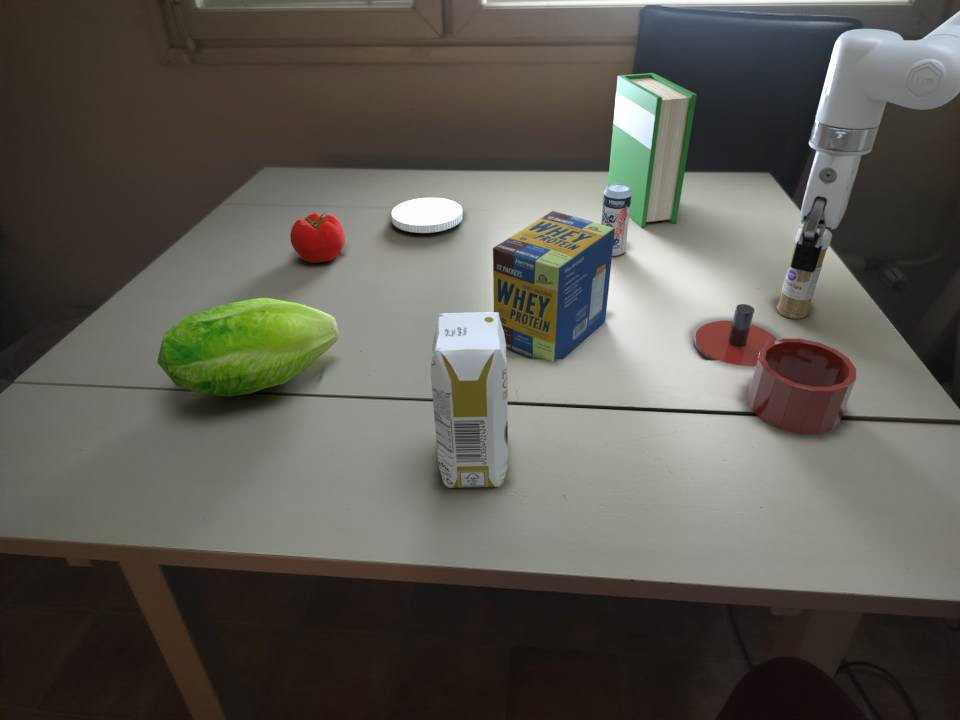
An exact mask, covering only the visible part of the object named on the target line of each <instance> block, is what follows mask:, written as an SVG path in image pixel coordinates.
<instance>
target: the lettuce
mask: <svg viewBox="0 0 960 720" xmlns="http://www.w3.org/2000/svg"><path fill="white" fill-rule="evenodd" d="M339 338H340V333H339V328H338V323H337V320H336V318H335V317H333V316H332V315H331V314H330V313H327V312H324V311H322V310H320V309H317V308H314V307H311V306H308V305H305V304H302V303H301V304H300V303H298V302H292V301H286V300H282V299H281V300H280V299H274V298H269V297H258V298H251V299H245V300H240V301H239V300H238V301H235V302H229V303H224V304H221V305H217V306H214V307H210V308H208V309H205V310H202V311H199V312H197V313H192V314H188V315H184V316H183V317H182V318H180V319H179V320H178V321H177V322H176V323H175V324H173V326H172V327H170V328H169V329H167V331H165V332H164V333H163V336H162V341H161V345H160V349H159V353H158V357H157V361H156V363H157V364H158V366H159V367H160V368H161V370H163V372H164V373H165V374H166V375H167V376H168V378H169V379H170V380H171V381H172V383H174V385H175V386H176V387H179V388H181V389H185V390H188V391H191V392H194V393H197V394H200V395H202V396H216V397H229V398H233V397H236V396H243V395H250V394H254V393H256V392H260V391H261V390H264V389H267V388H268V389H269V388H271V387H275V386H280V385H284V384H286V383H287V382H288V381H290V380H292V379H294V378H295V377H298V376H299V375H300V374H301V373H303V372H304V371H305V370H306V369H308V368H309V367H310V366H311V365H312V364H313V363H315V361H316V360H317V359H318V358H320V357H321V356H322V355H323V354H325V353H326V352H327V351H328V350H329V349H330V348H332V346H333V345H334V344H335V343H337V341H338V340H339Z"/></svg>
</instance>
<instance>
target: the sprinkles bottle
mask: <svg viewBox="0 0 960 720" xmlns="http://www.w3.org/2000/svg"><path fill="white" fill-rule="evenodd" d="M802 229H803V226H801V227H799V228H798V229H797V232H796V234H795V238H794V241H795V242H794V247H793V251H792V254H791V257H790V261H789V265H788V268H787V271H786V274H785V278H784V280H783V283H782V288H781V293H780V297H779V300H778V304H777V306H776V310H777V313H778V314H780V315H781V316H783V317H785V318H789V319H796V320H797V319H798V320H799V319H804V318H805V317H807V316H808V315H809V308H810V305H811V302H812V298H813V297H814V294H815V291H816V287H817V283H818V281H819V279H820V278H819V277H820V274H821V271H822V268H823V263H824V260H825V257H826V254H827V250H828V249H829V247H830V245H831V242H832V238H833V233H832V231H831V230H830V229H825V232H824V235H823V238H822V241H821V245H820V246H822V249H821V252H820V256H819V259H818V262H817V266H816V269H815V271H814V272H807V271H802V270H798V269H793V268H791V263H792V259H793V256H794V252H795V248H796V245H797V242H798V241H799V239H800V235H801V232H802ZM829 230H830V231H829ZM817 233H818V235H819V233H820V229H818V228H817Z"/></svg>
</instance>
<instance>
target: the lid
mask: <svg viewBox="0 0 960 720" xmlns="http://www.w3.org/2000/svg"><path fill="white" fill-rule="evenodd" d="M754 315H755V308H754V307H753V306H752V305H749V304H744V303H740V304H738V305H736V306H735V310H734V314H733V319H732V320H715V321H711V322H708V323H705V324H703V325H701V326H700V327H698V329H697V330H696V331H695V333H694V337H693V342H694V346H695V348H696V349H697V350H698V351H699V352H700V354H701V355H703V356H704V357H706V358H707V359H708V360H710V361H718V362H722V363H725V364H729V365H734V366H741V367H756V363H757V359H758V355H759V352H760V349H761V348H762V347H763V346H765V345H766V344H767V343H769V342H772V341H776V340H778V338H776V337H775V335H773V334H772V333H771V332H769V331H768V330H766V329H764V328H762V327H760V326H758V325H755V324H752V323H753V318H754Z"/></svg>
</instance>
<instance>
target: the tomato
mask: <svg viewBox="0 0 960 720" xmlns="http://www.w3.org/2000/svg"><path fill="white" fill-rule="evenodd" d="M325 214H326V212H324V213H323V214H321V215H320V214H318V213H317V212H316V211H315V212H312V213H309V214H308V215H307V216H306V217H303V218H304V219H303V218H299V219H297V220H295V222H294V224H293V225H292V227H291V229H290V234H289V236H290V243H291V246H292V249H293V250H294V251H295V252H296V253H297V254H298V255H299V257H300V258H301V259H302V260H304V261H306V262H307V263H311V264H312V263H313V264H318V263H324V262H330V261H332V260H334V259H336V258H337V257H338V256H339V255H340V254H341V252H342V249H344V246H345V244H346V235H345V231H344V228H343V226H342V224H341V221H340V220H339V219H338V218H337V217H336V216H335V215H333V214H326V215H325Z"/></svg>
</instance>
